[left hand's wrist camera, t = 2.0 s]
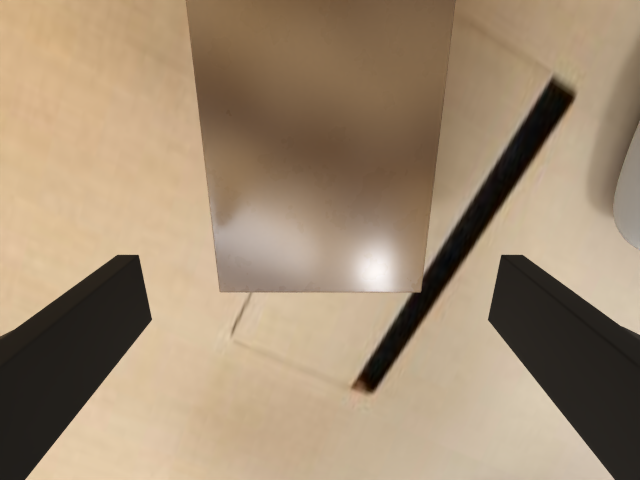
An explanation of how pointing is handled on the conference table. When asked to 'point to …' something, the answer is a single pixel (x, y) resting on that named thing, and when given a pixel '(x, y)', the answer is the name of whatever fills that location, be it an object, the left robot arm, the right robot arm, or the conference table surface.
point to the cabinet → (320, 138)
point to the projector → (629, 194)
